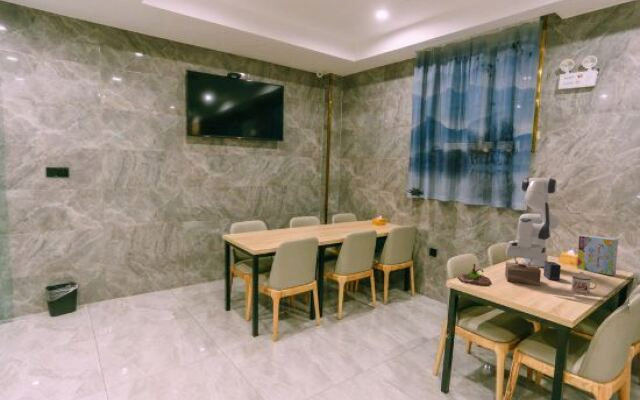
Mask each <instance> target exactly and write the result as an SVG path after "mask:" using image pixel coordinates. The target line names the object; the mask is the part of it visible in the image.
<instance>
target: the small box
mask: <svg viewBox="0 0 640 400" xmlns="http://www.w3.org/2000/svg"><path fill="white" fill-rule="evenodd" d="M561 267H562V266H561V264H559V263H557V262H555V261H549V260H548V261H545V262H544V267H543V275H544V277H545V278H547V280H548V281H560V279H561Z"/></svg>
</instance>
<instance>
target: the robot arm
mask: <svg viewBox="0 0 640 400" xmlns="http://www.w3.org/2000/svg"><path fill="white" fill-rule="evenodd" d="M520 187H521V190H522V191H523V192H525V196H524V202H525V204H526V205H527V206H528V207H529V208H531V209H532V210H533V211H535V212H537V213H522V214H521V215H520V216H519V218H518V223H517V227H516V234H517V236H516V239H515V240H509V241H508V245H507V247H506V250H505V256H506V257H507V258H508V257H509V258H513V259H514V261H515V262H514V263H515V264H518V263H519V261H518V260H517V258H519V259H521V258H522V260H521V264H528V265H537V266H538V267H541V268H544V262H545V261H548V262H549V260H548V259H549V258H548V257H549V256H548V254H547V253H546V250H547V248H546V241H547V240H548V239H550V237H551V236H552V230H554V229H556V228H558V227H559V224H560V221H559V218H558V216H556V215H554V214H553V213H552V212H551V210H550V207H549V199H550V198H549V196H550V194H554V193H555V192H556V191H557V189H558V182H557V180H556V179H554V178H547V177H525V178H523V179H522V181H521V183H520Z"/></svg>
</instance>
